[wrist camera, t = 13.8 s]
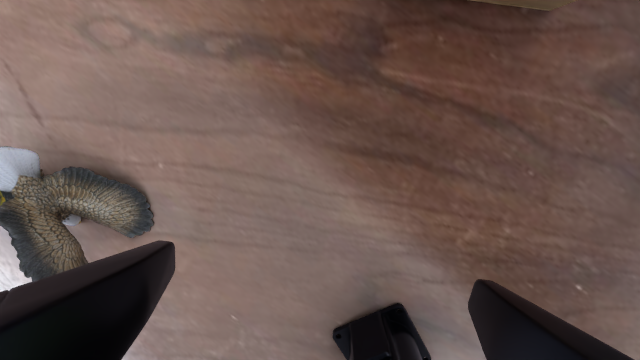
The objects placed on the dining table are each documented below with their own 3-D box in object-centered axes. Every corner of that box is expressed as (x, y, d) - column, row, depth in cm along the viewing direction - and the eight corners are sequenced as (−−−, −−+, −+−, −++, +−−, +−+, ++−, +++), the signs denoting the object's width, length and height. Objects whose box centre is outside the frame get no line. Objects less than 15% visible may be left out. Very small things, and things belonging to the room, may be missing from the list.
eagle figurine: (8, 238, 22) (106, 298, 21) (-119, 222, 15) (19, 310, 15) (81, 156, 24) (172, 208, 24) (-1, 112, 18) (123, 183, 17)
